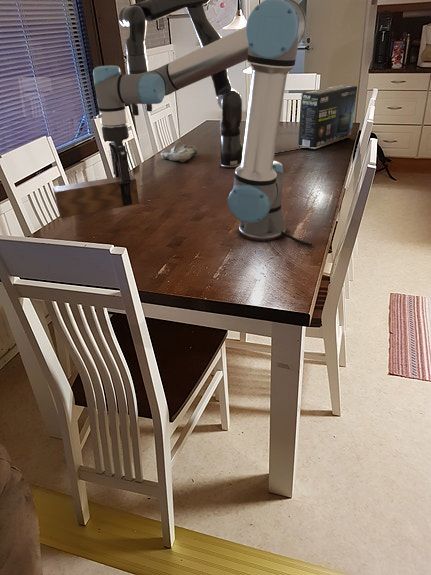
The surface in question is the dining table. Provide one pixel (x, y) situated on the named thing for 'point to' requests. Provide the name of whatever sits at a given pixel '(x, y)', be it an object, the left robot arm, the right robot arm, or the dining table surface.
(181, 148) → the fossil
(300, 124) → the router box
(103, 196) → the bar
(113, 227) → the dining table surface
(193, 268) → the dining table surface
